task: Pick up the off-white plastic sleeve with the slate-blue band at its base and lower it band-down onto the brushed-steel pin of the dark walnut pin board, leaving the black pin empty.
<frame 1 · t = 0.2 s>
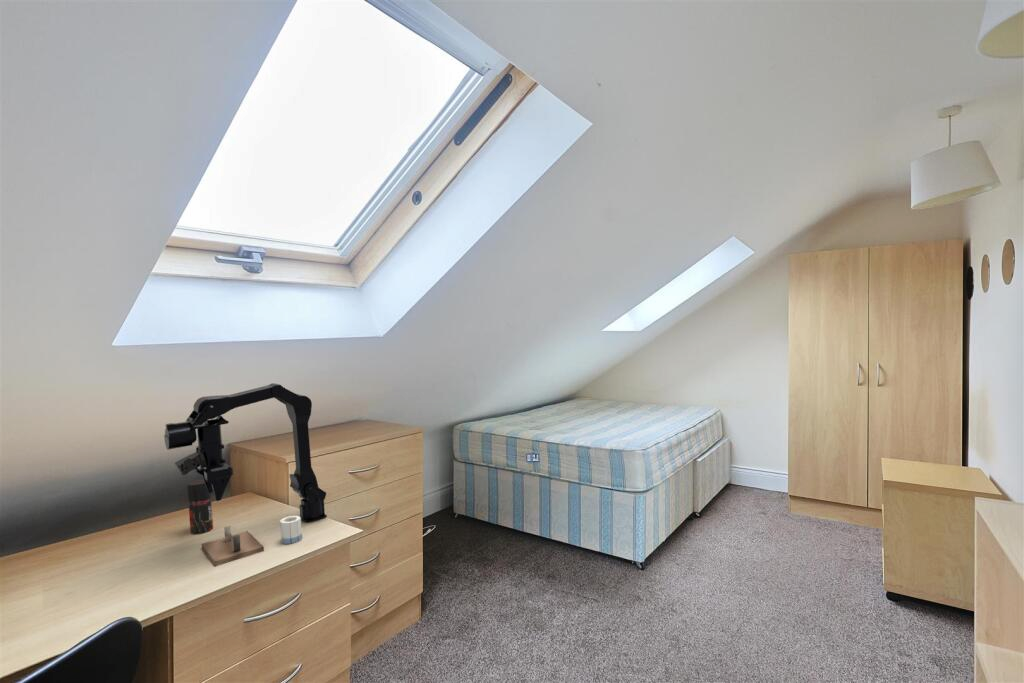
hand: (214, 496, 147), 14 cm above the table, fingers open, 9 cm apart
sleeve: (291, 539, 150), on the table
pin board: (232, 549, 145), on the table
deodorant: (202, 530, 160), on the table
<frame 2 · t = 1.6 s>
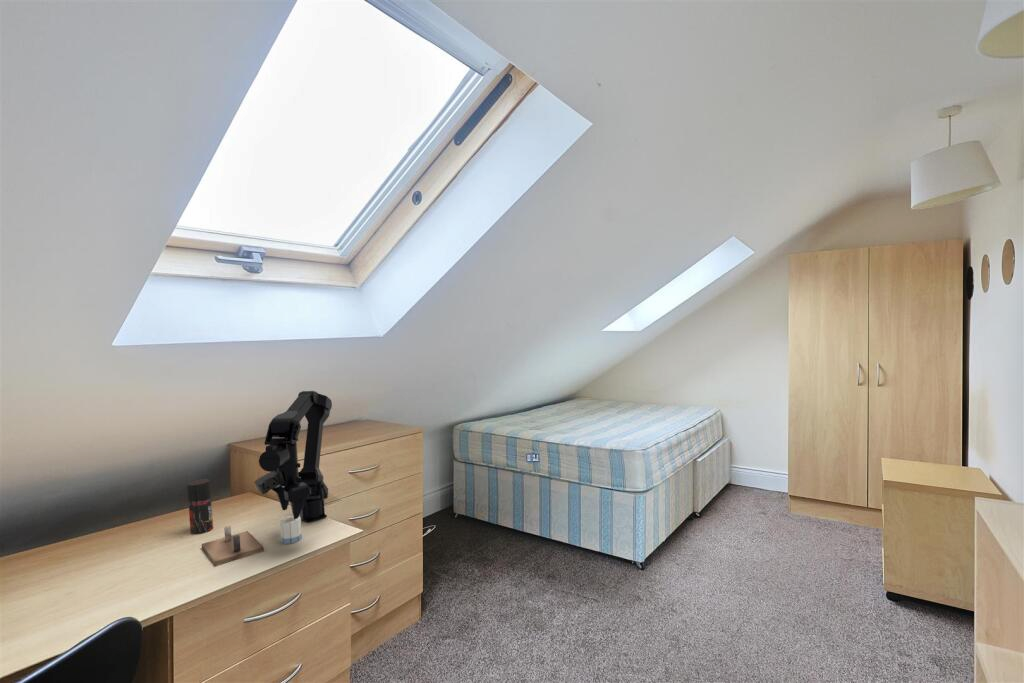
hand: (290, 514, 150), 7 cm above the table, fingers open, 9 cm apart
nothing on the table moved.
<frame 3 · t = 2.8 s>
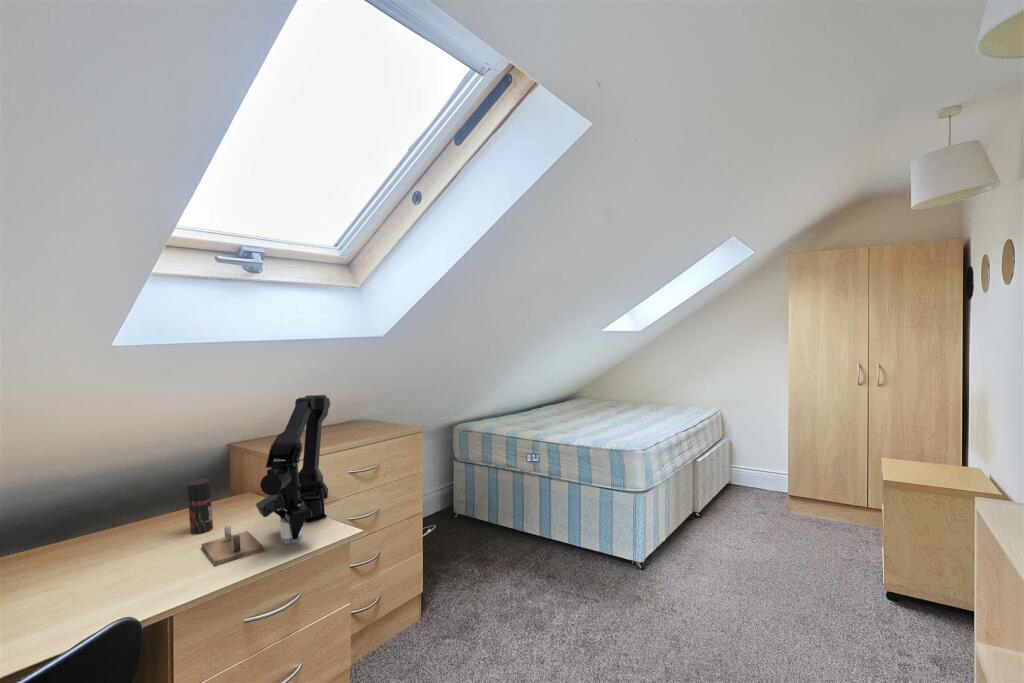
hand: (291, 536, 150), 1 cm above the table, fingers closed on sleeve, 5 cm apart
sleeve: (291, 539, 150), on the table, touching gripper
everything else where it was.
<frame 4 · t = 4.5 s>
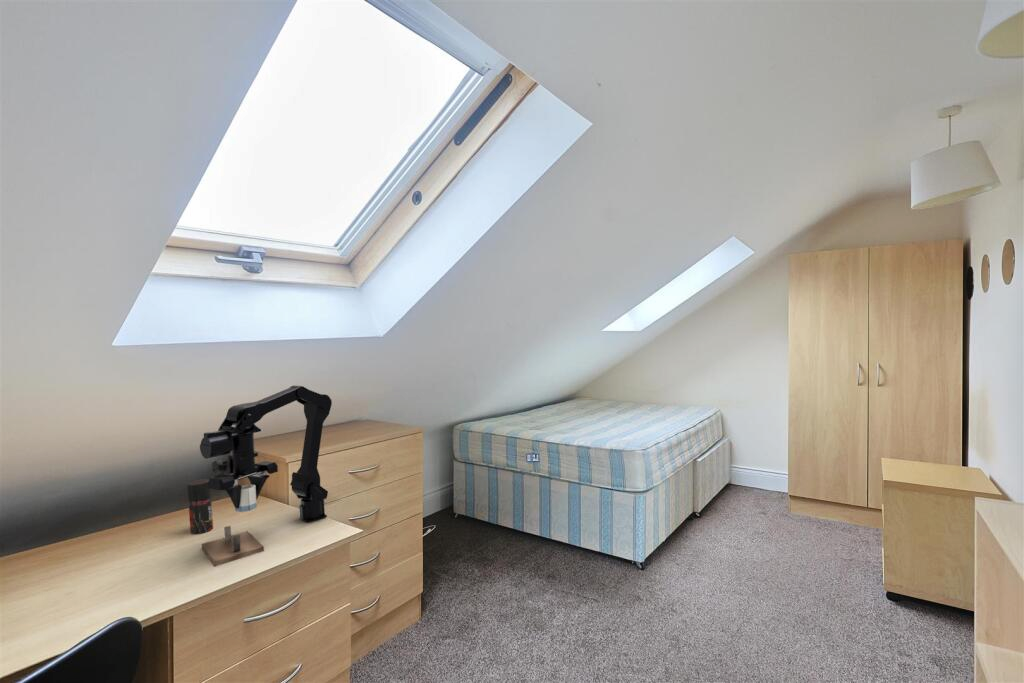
hand: (245, 504, 148), 11 cm above the table, fingers closed on sleeve, 5 cm apart
sleeve: (246, 508, 148), point 10 cm above the table, touching gripper
everything else where it was.
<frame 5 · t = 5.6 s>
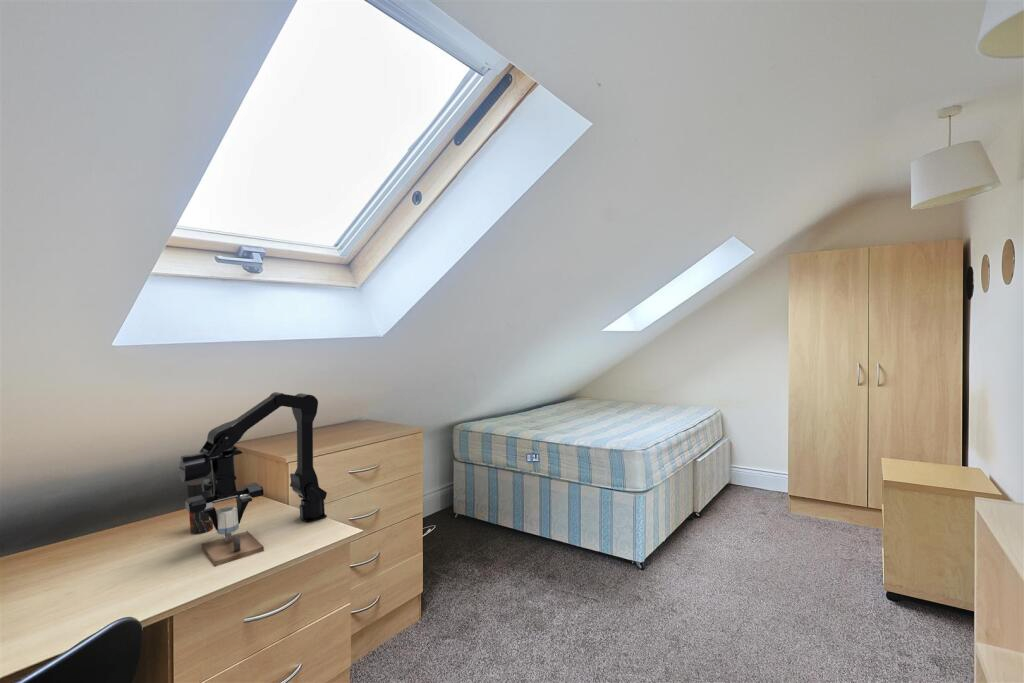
hand: (227, 526, 148), 5 cm above the table, fingers closed on sleeve, 5 cm apart
sleeve: (227, 530, 148), point 4 cm above the table, touching gripper
everything else where it was.
when the fingers open (4 cm above the table, at t = 6.3 s): sleeve drops 1 cm, resting on pin board.
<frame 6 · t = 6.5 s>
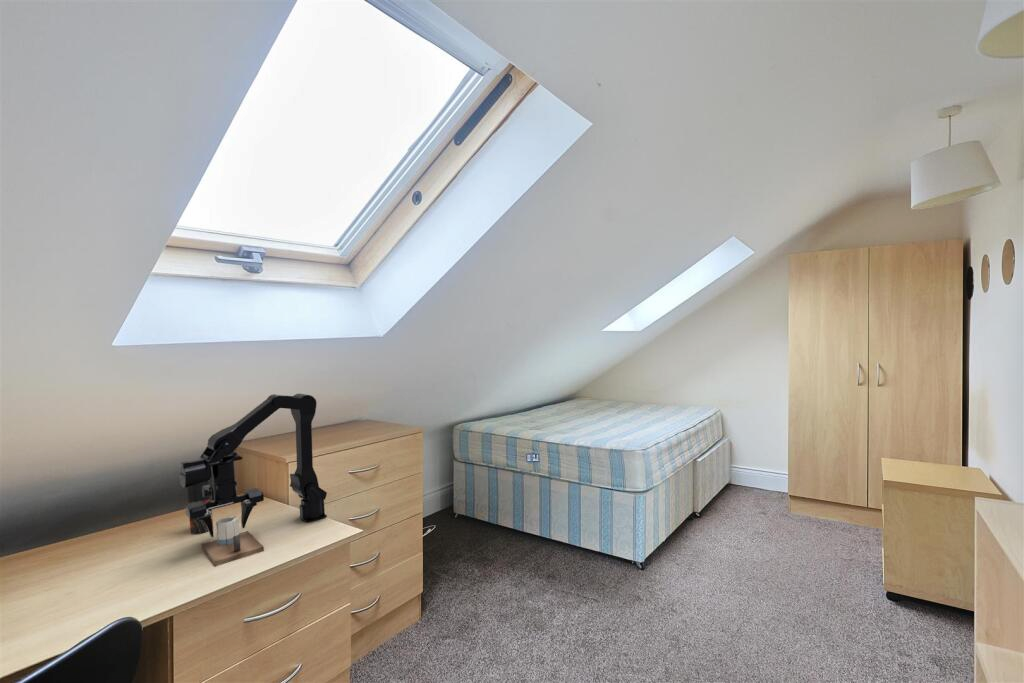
hand: (227, 532, 148), 4 cm above the table, fingers open, 8 cm apart
sleeve: (228, 540, 148), point 1 cm above the table, touching pin board
everything else where it was.
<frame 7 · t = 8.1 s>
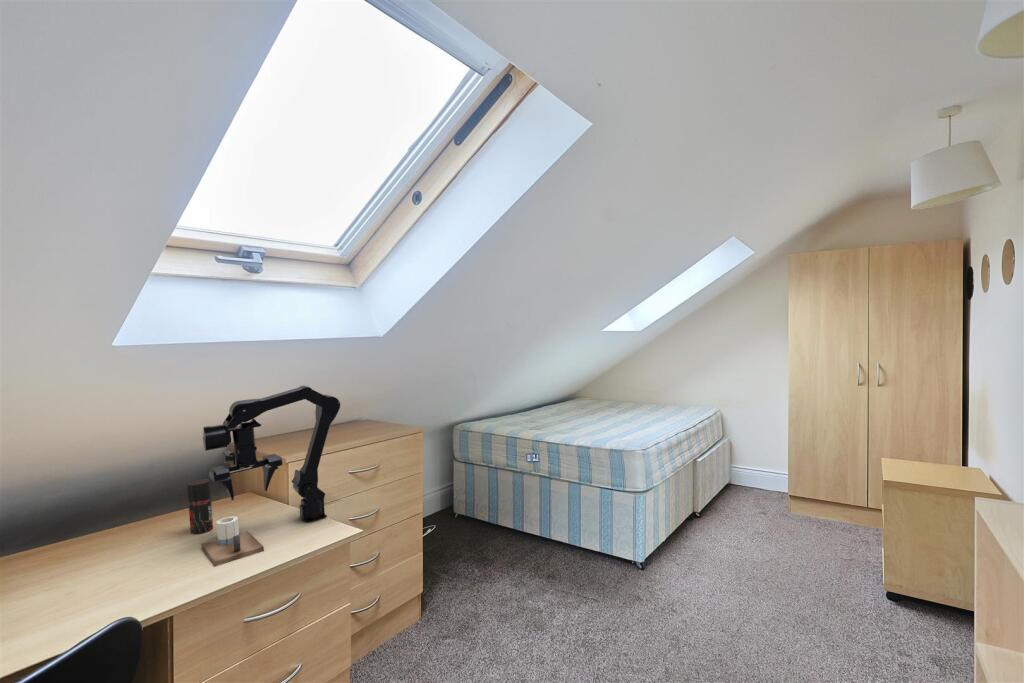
hand: (249, 495, 155), 12 cm above the table, fingers open, 9 cm apart
nothing on the table moved.
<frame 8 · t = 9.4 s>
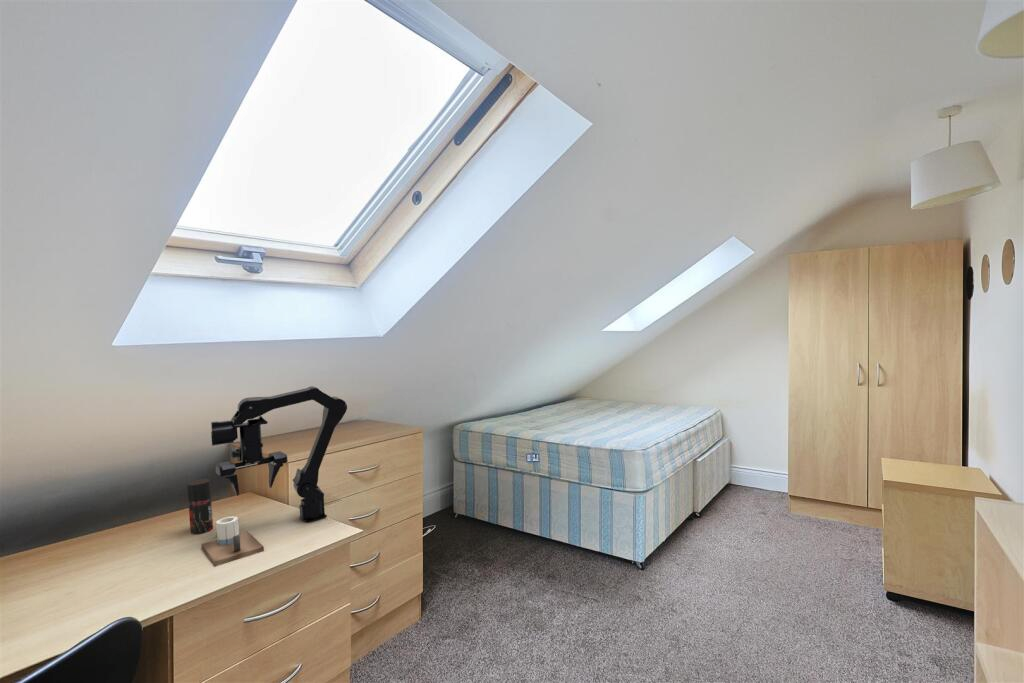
hand: (254, 491, 157), 12 cm above the table, fingers open, 9 cm apart
nothing on the table moved.
at the end: sleeve 0.0 cm from the target spot on the pin board, point 1.2 cm above the pin board's base; sleeve tilted 0°; the gripper is holding nothing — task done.
